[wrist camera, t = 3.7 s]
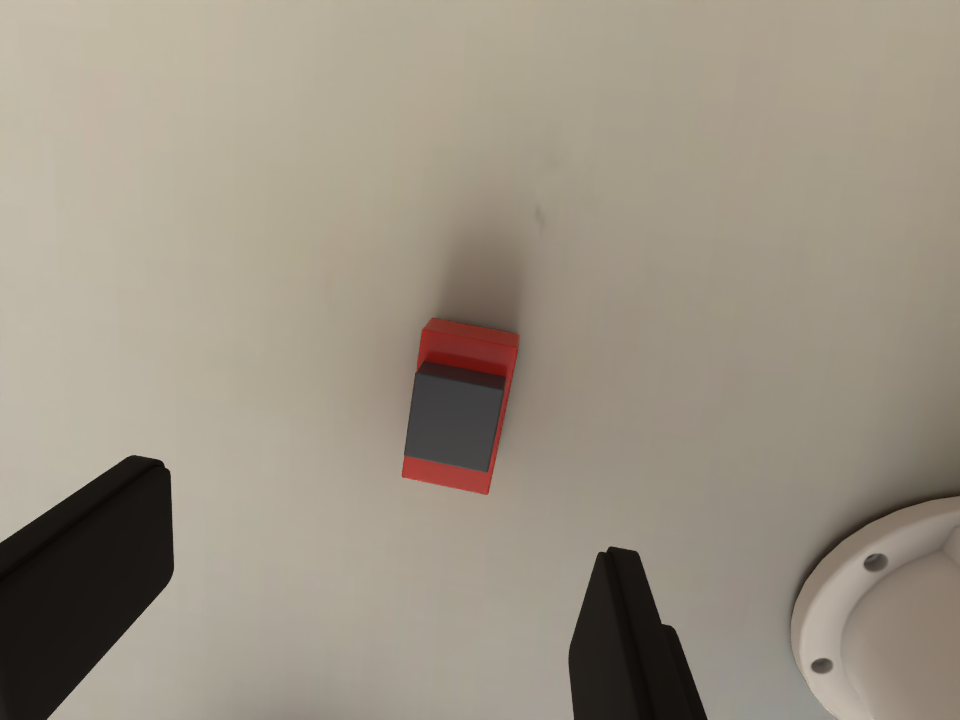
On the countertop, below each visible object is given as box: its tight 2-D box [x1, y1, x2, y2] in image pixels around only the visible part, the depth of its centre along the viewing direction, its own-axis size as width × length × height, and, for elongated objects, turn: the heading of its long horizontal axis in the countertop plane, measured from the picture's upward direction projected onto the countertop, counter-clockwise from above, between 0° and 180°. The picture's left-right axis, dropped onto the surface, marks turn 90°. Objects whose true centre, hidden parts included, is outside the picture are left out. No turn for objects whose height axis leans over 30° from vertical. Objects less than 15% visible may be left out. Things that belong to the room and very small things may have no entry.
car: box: [402, 318, 519, 495], centre depth 19 cm, size 6×3×4 cm, turn 170°
